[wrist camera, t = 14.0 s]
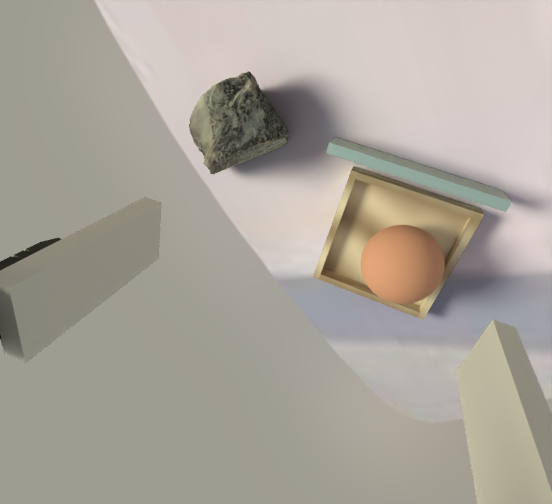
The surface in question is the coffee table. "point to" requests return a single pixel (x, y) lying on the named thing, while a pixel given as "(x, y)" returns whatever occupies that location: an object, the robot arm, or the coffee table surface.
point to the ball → (402, 264)
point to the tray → (384, 213)
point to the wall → (419, 173)
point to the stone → (235, 123)
